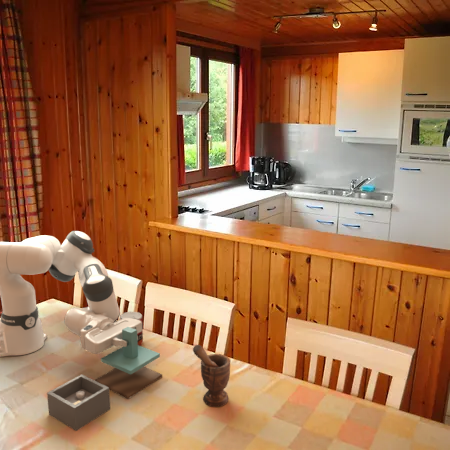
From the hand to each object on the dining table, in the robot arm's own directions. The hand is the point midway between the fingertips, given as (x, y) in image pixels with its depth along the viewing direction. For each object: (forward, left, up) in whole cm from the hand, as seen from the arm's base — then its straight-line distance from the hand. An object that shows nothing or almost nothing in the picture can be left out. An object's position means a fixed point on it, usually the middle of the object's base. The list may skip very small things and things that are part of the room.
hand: (131, 341), depth 152 cm
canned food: (-18, +17, -14) cm, 28 cm away
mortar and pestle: (+28, +5, -14) cm, 31 cm away
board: (-1, -1, -13) cm, 13 cm away
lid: (-1, 0, -8) cm, 8 cm away
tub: (0, -21, -13) cm, 25 cm away
